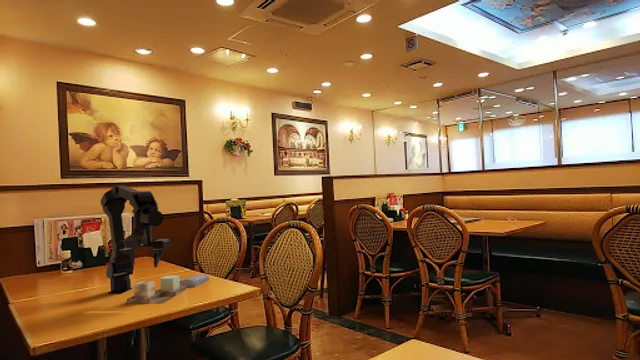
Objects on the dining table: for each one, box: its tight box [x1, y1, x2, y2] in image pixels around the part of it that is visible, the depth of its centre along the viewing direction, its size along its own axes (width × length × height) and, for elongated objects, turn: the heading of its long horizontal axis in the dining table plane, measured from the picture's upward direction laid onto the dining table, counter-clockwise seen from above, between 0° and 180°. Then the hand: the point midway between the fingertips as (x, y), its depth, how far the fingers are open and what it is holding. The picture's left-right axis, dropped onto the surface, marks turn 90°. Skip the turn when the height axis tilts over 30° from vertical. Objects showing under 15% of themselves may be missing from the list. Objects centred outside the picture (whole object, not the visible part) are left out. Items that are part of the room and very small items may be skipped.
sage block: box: [160, 274, 181, 291], centre depth 148 cm, size 5×5×6 cm
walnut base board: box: [125, 286, 187, 305], centre depth 144 cm, size 14×18×2 cm
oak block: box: [133, 280, 156, 298], centre depth 140 cm, size 5×5×6 cm
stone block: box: [180, 274, 210, 288], centre depth 162 cm, size 12×5×10 cm
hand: (143, 267), depth 144 cm, fingers open, 9 cm apart
